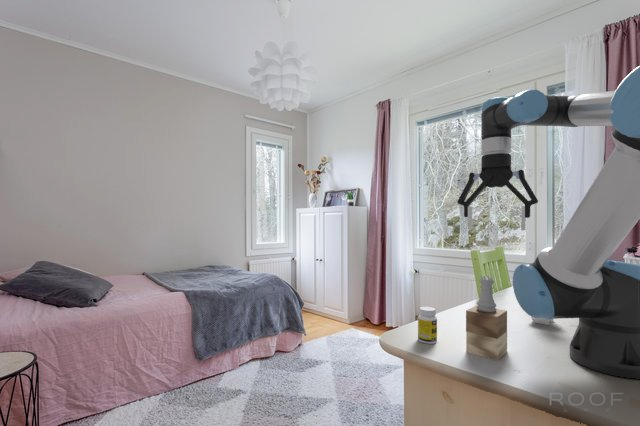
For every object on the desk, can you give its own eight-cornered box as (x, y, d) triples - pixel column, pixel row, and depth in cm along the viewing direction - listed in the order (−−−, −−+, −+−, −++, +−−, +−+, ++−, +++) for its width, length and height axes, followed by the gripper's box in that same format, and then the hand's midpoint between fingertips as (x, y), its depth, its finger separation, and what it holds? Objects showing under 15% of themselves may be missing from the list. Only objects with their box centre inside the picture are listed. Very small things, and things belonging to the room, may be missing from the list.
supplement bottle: (434, 345, 86) (434, 312, 86) (415, 341, 88) (415, 309, 88) (438, 339, 90) (439, 307, 90) (420, 336, 92) (420, 305, 92)
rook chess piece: (499, 313, 80) (499, 279, 80) (479, 312, 81) (479, 278, 81) (493, 308, 84) (493, 275, 84) (474, 307, 85) (474, 275, 85)
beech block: (507, 351, 82) (507, 331, 82) (497, 360, 77) (497, 338, 77) (477, 343, 87) (477, 324, 87) (466, 351, 82) (466, 331, 82)
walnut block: (507, 331, 82) (507, 310, 82) (497, 339, 77) (497, 316, 77) (476, 324, 87) (477, 305, 87) (466, 331, 82) (466, 310, 82)
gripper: (549, 152, 93) (548, 230, 93) (453, 159, 107) (453, 227, 107) (548, 148, 87) (548, 231, 87) (447, 156, 101) (446, 228, 101)
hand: (495, 229), depth 97 cm, fingers open, 13 cm apart
